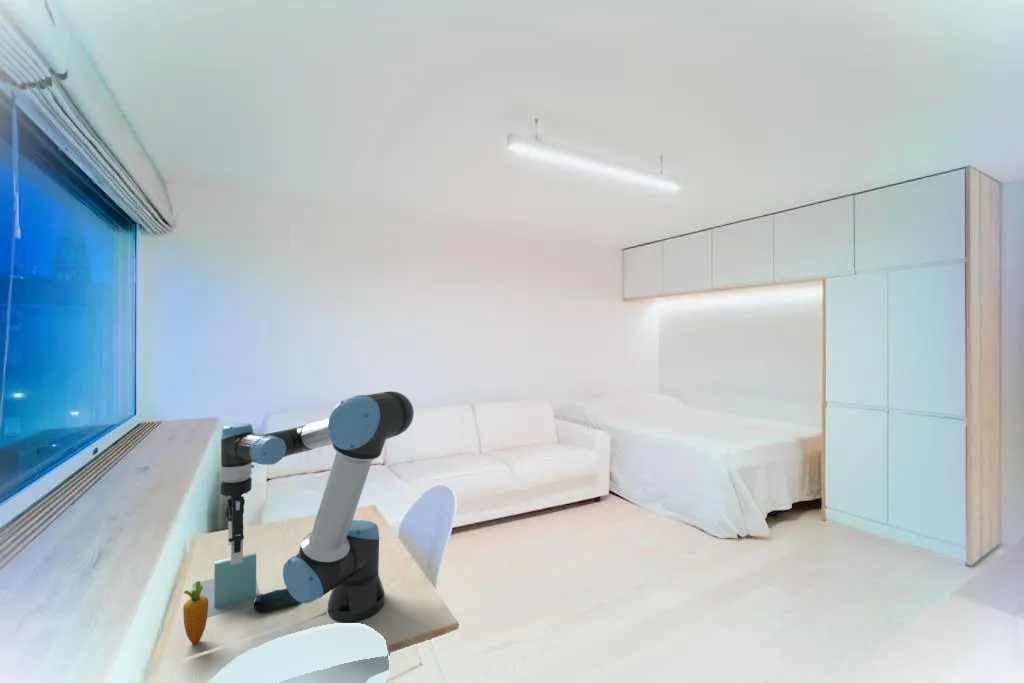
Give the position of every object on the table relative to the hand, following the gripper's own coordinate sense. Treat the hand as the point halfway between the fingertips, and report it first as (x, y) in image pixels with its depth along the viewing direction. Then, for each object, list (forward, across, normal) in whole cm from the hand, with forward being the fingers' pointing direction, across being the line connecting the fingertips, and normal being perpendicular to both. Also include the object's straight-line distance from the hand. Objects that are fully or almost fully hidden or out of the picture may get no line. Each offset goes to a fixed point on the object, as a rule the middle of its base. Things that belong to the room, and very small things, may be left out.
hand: (235, 552), depth 127 cm
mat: (+14, +6, +2) cm, 15 cm away
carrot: (+14, -16, +9) cm, 23 cm away
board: (+13, 0, 0) cm, 13 cm away
